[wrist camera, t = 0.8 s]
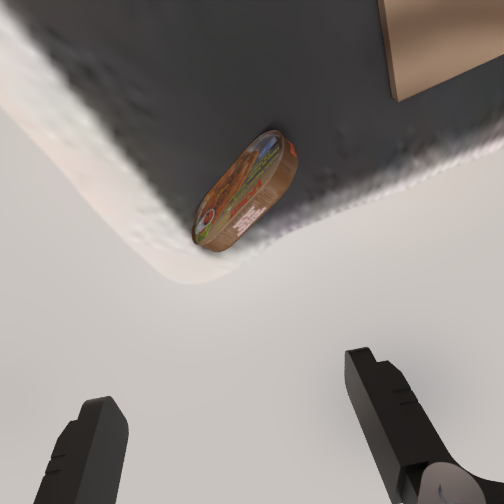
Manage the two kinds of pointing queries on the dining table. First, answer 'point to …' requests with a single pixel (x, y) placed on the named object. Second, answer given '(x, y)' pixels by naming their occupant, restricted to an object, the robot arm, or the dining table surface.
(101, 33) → the dining table surface
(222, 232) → the tin
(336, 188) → the dining table surface
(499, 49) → the walnut board
